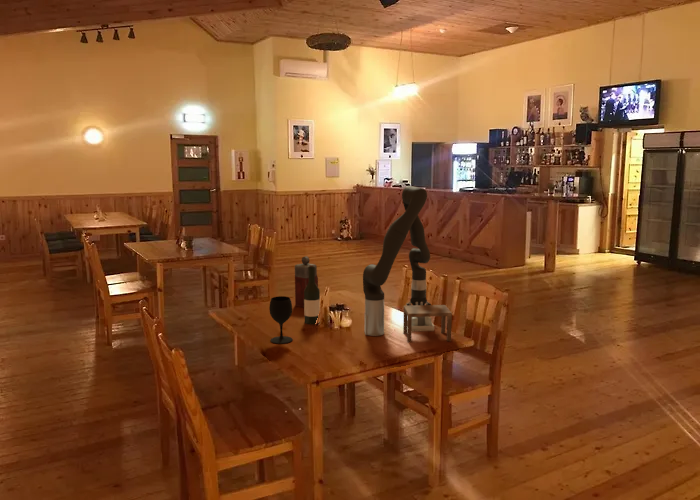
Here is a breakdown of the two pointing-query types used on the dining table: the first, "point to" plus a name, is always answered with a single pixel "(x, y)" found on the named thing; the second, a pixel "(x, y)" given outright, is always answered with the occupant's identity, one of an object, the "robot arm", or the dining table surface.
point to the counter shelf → (427, 312)
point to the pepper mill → (302, 280)
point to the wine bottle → (311, 298)
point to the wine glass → (281, 316)
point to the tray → (422, 324)
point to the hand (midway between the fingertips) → (418, 321)
